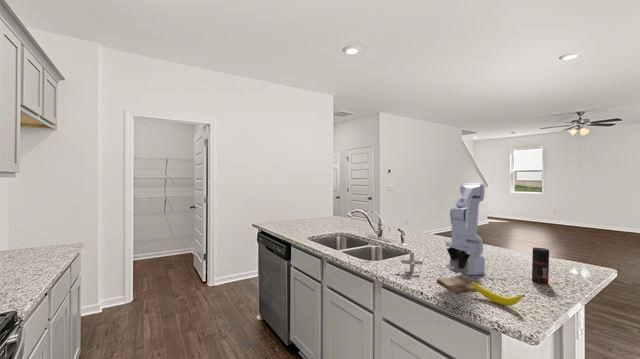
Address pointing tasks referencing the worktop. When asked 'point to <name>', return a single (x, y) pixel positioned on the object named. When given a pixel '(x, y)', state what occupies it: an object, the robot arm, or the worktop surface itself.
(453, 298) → the worktop surface
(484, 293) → the banana
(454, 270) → the plug
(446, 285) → the board
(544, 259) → the deodorant
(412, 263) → the pipe connector
